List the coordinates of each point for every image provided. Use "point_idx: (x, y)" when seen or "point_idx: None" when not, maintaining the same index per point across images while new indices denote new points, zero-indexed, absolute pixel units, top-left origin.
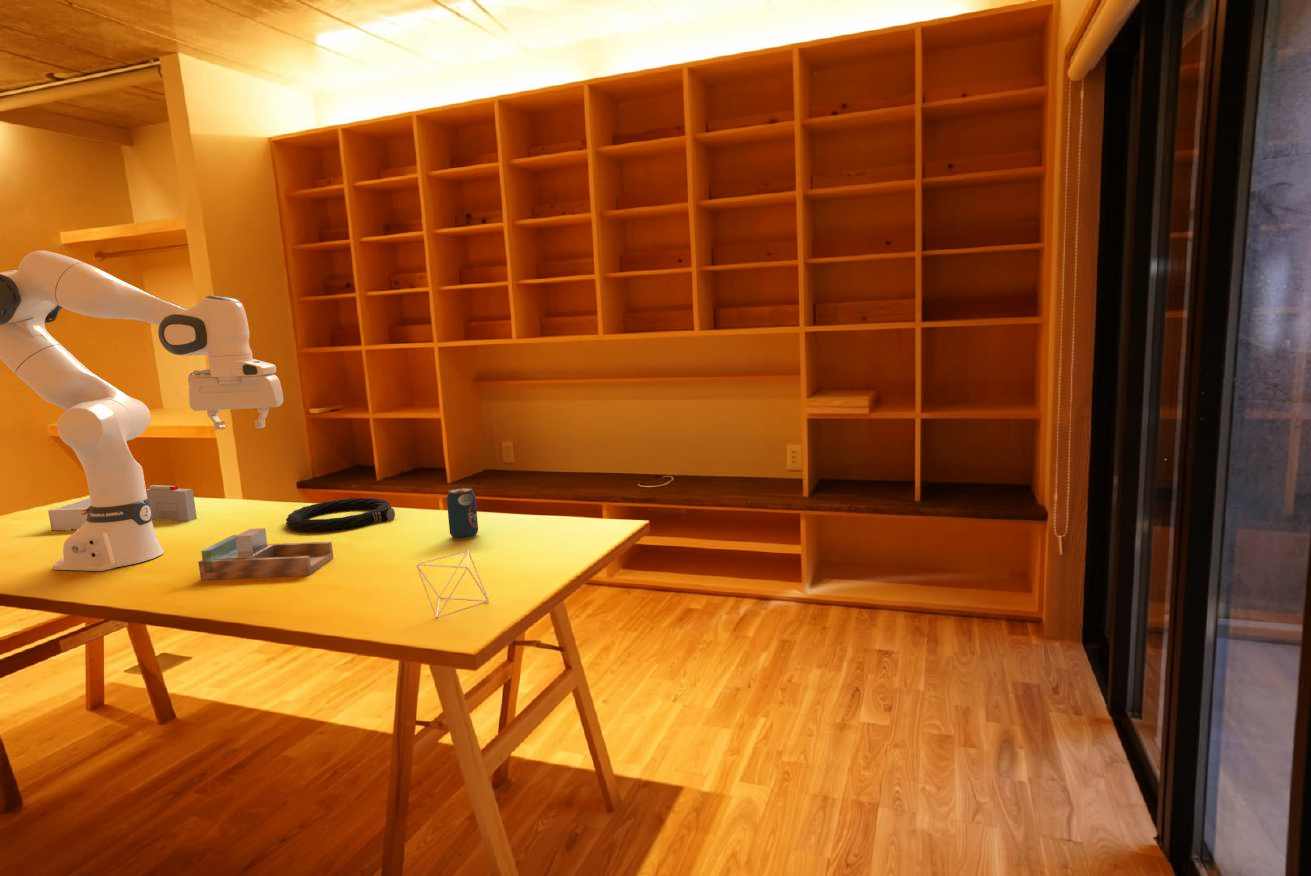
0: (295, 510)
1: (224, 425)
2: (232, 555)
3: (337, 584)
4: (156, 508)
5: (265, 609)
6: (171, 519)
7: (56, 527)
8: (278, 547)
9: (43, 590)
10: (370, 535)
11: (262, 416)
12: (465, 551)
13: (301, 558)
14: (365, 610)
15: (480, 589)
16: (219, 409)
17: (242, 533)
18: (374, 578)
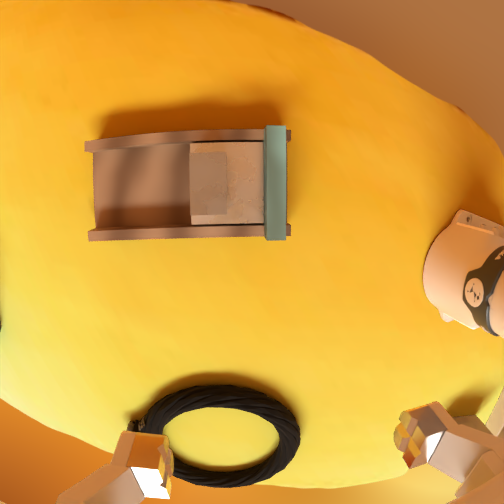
0: (294, 448)
1: (401, 449)
2: (241, 160)
3: (46, 110)
4: (474, 423)
5: (105, 21)
6: (456, 417)
7: None
8: (183, 226)
9: (475, 141)
10: (112, 356)
11: (84, 480)
12: None
13: (94, 140)
14: (5, 44)
15: None
16: (460, 497)
17: (222, 175)
18: (12, 138)
